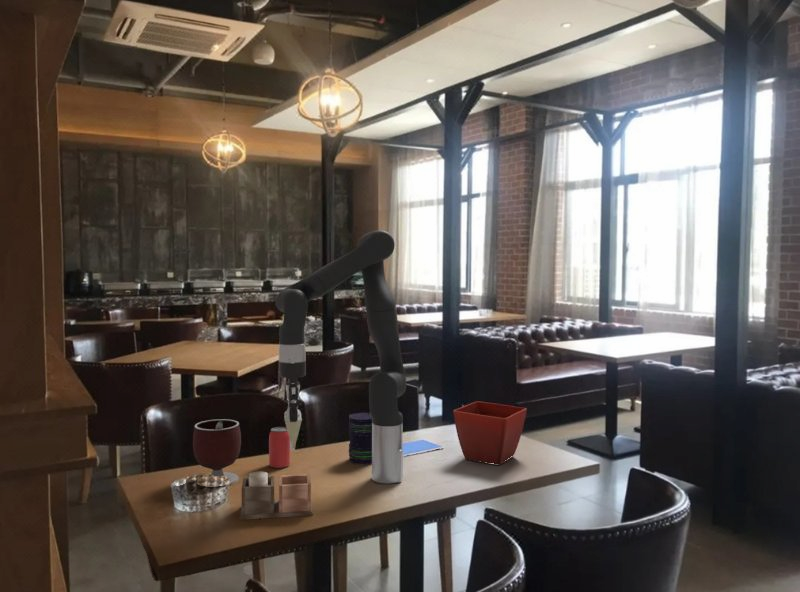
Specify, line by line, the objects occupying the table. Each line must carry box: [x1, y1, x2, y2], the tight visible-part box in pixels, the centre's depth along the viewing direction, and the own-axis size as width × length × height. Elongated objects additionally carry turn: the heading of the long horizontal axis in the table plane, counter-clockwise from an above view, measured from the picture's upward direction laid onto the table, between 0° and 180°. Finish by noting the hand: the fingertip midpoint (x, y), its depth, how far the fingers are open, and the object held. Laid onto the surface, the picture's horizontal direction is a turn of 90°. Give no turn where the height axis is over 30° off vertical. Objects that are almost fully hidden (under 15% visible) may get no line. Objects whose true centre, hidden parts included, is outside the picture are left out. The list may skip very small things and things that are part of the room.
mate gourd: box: [192, 418, 242, 486], centre depth 193 cm, size 16×14×20 cm
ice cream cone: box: [283, 400, 303, 449], centre depth 184 cm, size 5×5×15 cm
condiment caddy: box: [239, 470, 314, 521], centre depth 171 cm, size 18×9×10 cm, turn 100°
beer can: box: [268, 426, 291, 469], centre depth 209 cm, size 7×7×12 cm
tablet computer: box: [402, 439, 444, 457], centre depth 229 cm, size 19×13×1 cm, turn 125°
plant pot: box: [453, 401, 528, 465], centre depth 218 cm, size 19×19×17 cm
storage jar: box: [348, 412, 372, 466], centre depth 215 cm, size 10×10×15 cm
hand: (293, 418), depth 184 cm, fingers closed on ice cream cone, 5 cm apart
